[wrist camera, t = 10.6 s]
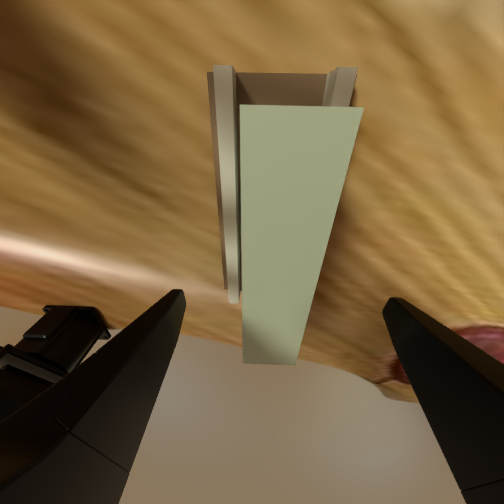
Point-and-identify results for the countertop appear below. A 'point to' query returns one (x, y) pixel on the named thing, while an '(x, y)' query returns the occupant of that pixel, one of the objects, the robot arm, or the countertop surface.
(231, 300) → the bottom track
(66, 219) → the countertop surface
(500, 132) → the countertop surface
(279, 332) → the pale green rectangular block
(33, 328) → the robot arm
